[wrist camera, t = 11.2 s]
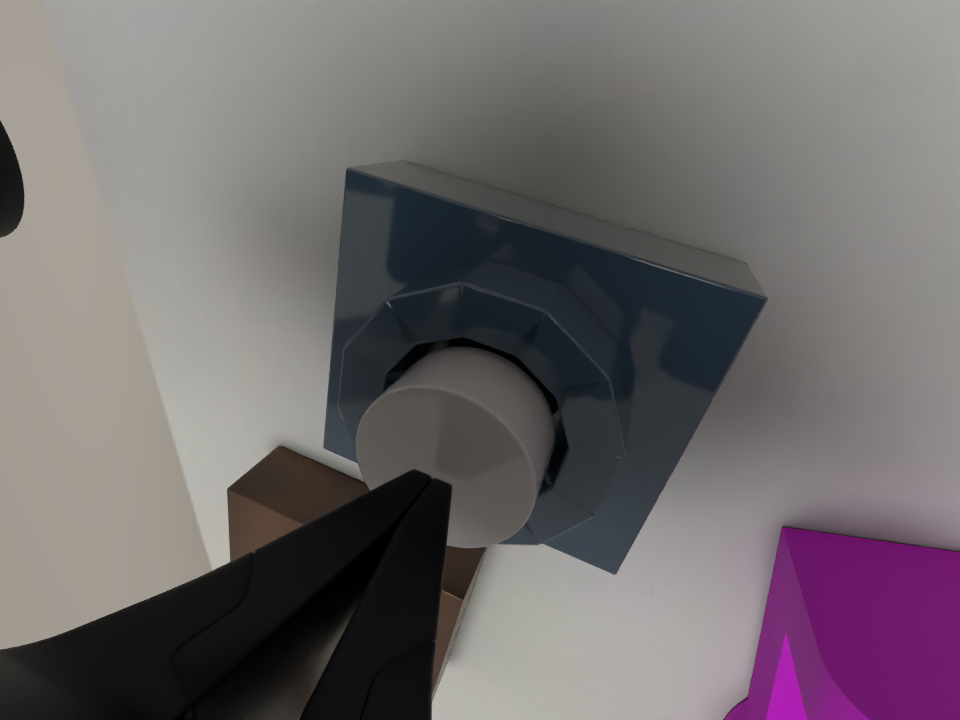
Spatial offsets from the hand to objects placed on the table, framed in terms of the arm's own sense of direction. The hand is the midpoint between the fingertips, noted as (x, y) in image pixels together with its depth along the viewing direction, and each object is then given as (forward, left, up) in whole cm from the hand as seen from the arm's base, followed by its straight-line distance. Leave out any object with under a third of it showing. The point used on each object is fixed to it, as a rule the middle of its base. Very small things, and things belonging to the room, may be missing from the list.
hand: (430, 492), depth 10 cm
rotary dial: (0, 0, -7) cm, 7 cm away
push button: (0, 0, -3) cm, 3 cm away
